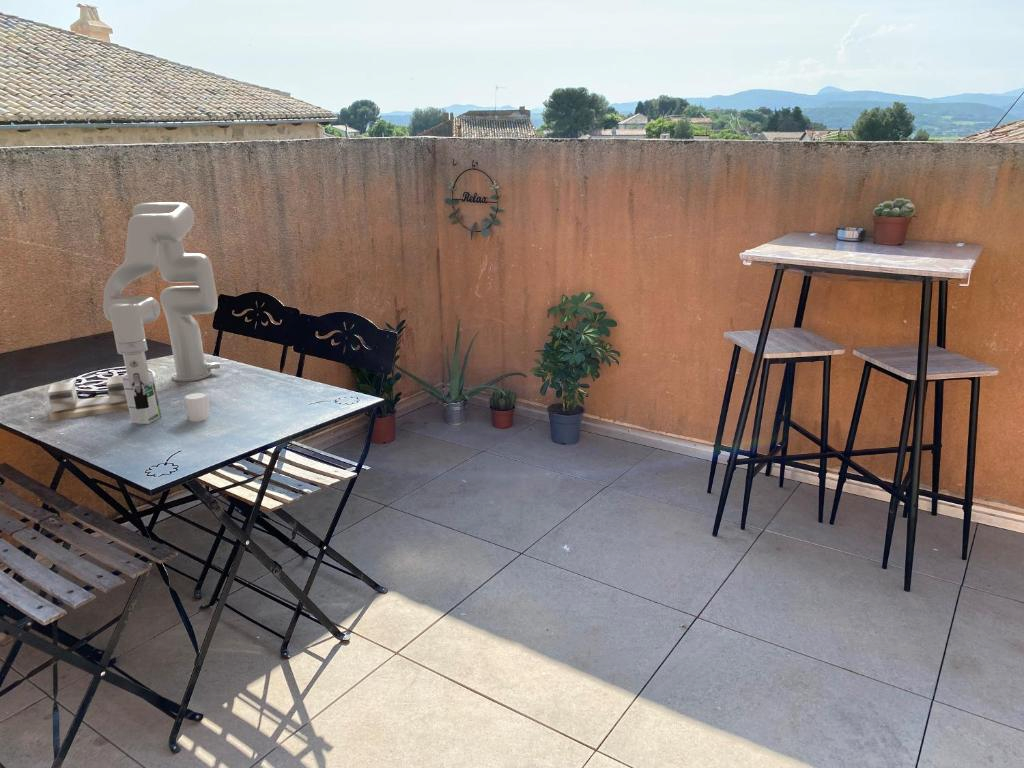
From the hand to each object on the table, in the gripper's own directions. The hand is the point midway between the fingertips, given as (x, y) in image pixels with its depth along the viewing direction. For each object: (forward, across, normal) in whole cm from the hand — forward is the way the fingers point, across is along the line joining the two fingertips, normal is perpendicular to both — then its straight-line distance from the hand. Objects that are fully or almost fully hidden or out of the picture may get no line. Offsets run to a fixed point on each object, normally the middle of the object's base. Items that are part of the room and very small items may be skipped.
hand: (142, 402), depth 197 cm
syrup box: (+6, 0, 0) cm, 6 cm away
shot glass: (+6, -5, -14) cm, 16 cm away
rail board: (+5, +18, +14) cm, 24 cm away
